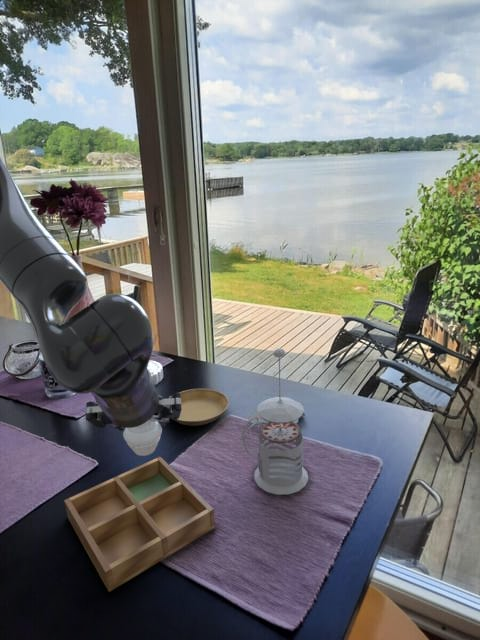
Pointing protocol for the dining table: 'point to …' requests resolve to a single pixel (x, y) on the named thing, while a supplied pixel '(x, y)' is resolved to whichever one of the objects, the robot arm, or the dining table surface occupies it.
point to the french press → (275, 465)
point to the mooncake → (155, 371)
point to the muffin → (143, 437)
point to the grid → (137, 520)
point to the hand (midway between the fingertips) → (142, 422)
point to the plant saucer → (201, 406)
